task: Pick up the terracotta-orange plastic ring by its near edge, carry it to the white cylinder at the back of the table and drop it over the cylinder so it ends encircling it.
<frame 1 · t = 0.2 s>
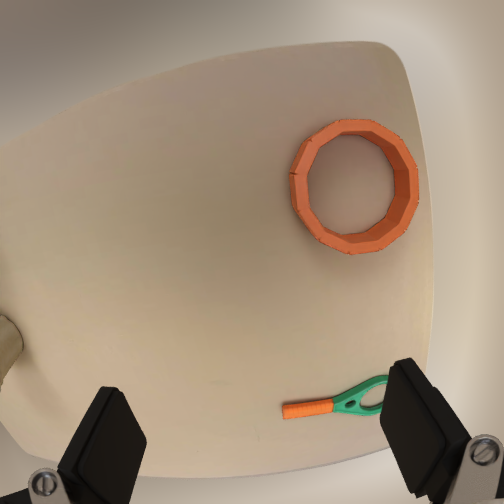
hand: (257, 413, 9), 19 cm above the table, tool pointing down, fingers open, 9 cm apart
flower pot: (9, 333, 30), on the table
ring: (350, 184, 25), on the table
magnifying glass: (343, 397, 32), on the table
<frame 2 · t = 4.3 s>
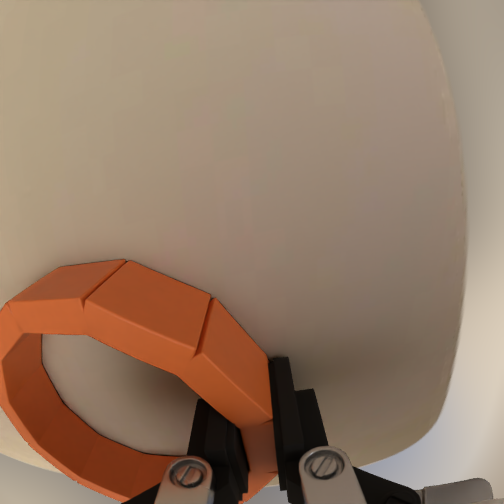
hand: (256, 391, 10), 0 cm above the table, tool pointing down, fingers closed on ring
ring: (134, 392, 10), on the table, touching gripper
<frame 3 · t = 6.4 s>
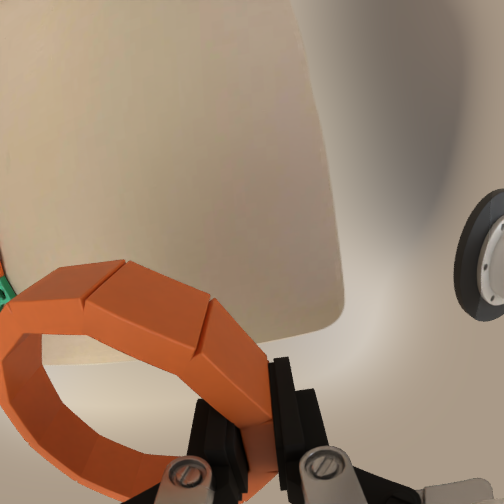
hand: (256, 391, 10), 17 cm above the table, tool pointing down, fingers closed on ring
ring: (134, 392, 10), point 17 cm above the table, touching gripper
magnifying glass: (6, 285, 27), on the table
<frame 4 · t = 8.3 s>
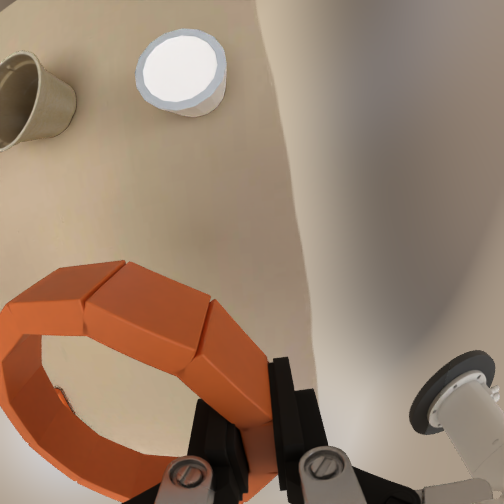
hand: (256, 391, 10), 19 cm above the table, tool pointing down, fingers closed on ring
flower pot: (56, 109, 25), on the table
white cylinder: (195, 89, 25), on the table
ring: (134, 392, 10), point 19 cm above the table, touching gripper
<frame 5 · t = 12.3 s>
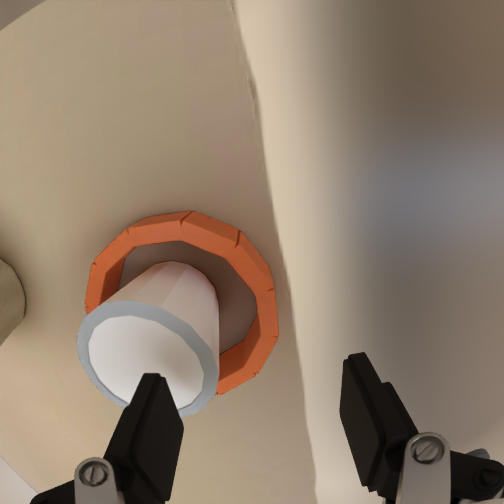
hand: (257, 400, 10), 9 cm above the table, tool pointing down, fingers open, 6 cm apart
flower pot: (3, 288, 19), on the table
white cylinder: (175, 301, 19), resting in ring
ring: (185, 300, 18), on the table
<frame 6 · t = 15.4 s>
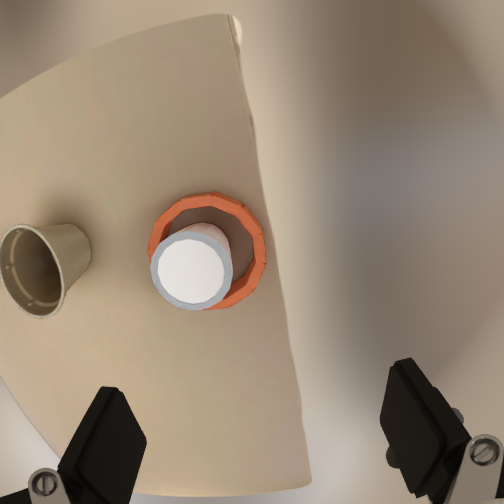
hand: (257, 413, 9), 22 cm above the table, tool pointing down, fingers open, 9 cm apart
flower pot: (71, 248, 31), on the table
white cylinder: (203, 248, 31), resting in ring
ring: (209, 247, 30), on the table
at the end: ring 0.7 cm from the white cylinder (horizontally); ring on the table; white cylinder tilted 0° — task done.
